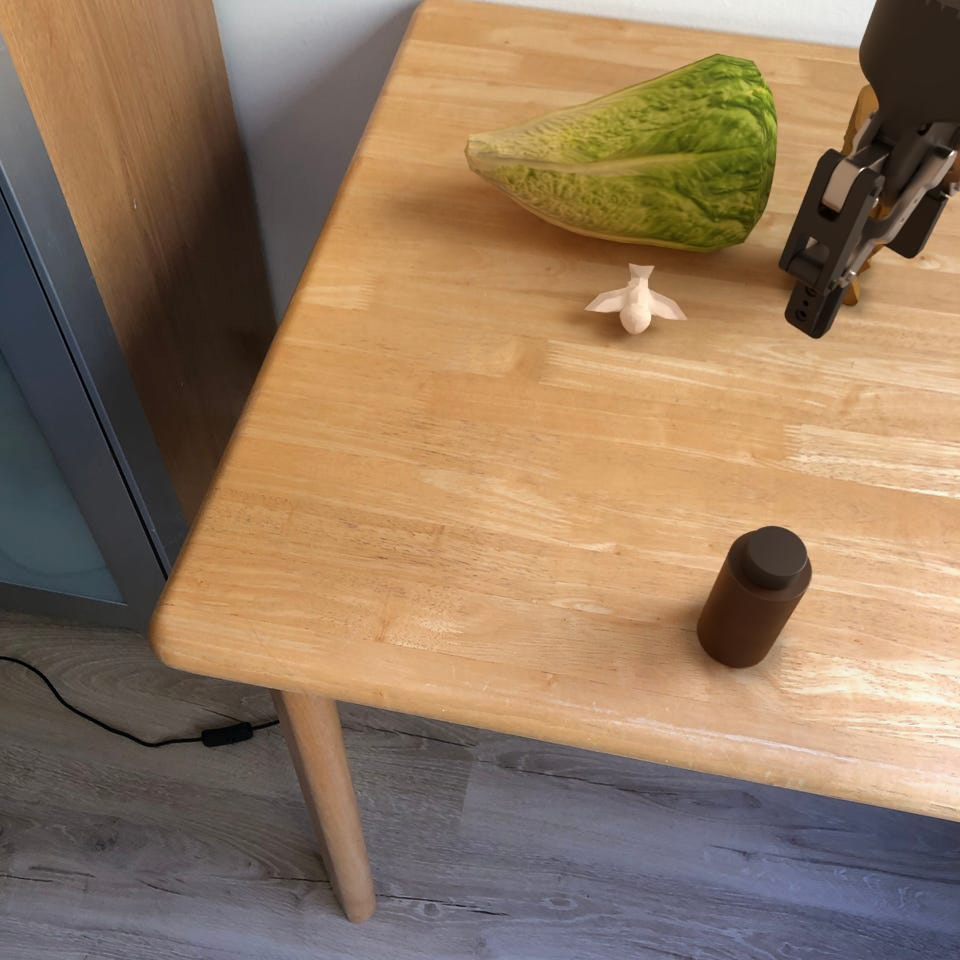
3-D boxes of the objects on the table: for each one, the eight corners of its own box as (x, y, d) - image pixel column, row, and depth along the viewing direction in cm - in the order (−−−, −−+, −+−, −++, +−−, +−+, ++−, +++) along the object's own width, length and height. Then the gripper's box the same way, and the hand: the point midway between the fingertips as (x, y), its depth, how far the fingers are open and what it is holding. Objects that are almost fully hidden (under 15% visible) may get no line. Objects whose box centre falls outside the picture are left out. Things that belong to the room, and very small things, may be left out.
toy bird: (580, 335, 73) (588, 276, 71) (581, 311, 77) (589, 254, 75) (686, 346, 73) (698, 287, 70) (682, 321, 77) (693, 265, 74)
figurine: (800, 242, 81) (862, 78, 69) (879, 259, 80) (956, 96, 68) (789, 297, 77) (853, 134, 65) (872, 316, 76) (953, 154, 64)
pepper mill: (785, 635, 60) (838, 551, 52) (740, 683, 58) (787, 604, 50) (726, 588, 62) (768, 500, 54) (681, 633, 60) (717, 548, 52)
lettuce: (463, 282, 79) (474, 181, 89) (767, 280, 77) (743, 177, 87) (451, 115, 68) (464, 21, 78) (803, 109, 66) (772, 13, 76)
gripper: (997, 76, 31) (836, 400, 45) (1179, -63, 37) (989, 259, 51) (805, -13, 34) (707, 315, 48) (1002, -129, 40) (867, 191, 54)
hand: (853, 286), depth 49 cm, fingers open, 8 cm apart
